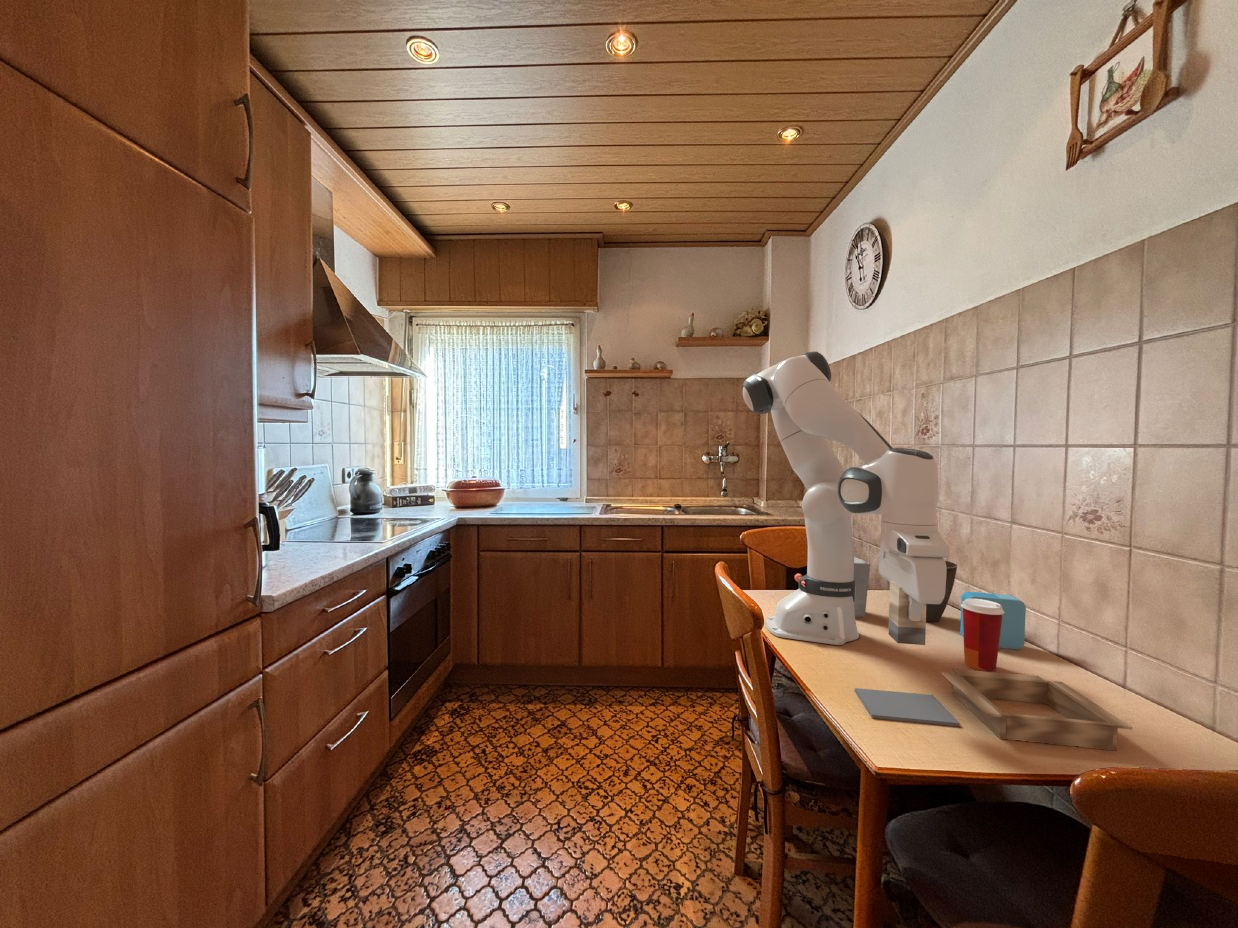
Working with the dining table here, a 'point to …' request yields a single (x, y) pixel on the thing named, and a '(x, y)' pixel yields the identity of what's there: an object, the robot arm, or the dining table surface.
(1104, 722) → the wooden frame
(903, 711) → the rubber mat
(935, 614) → the plant pot
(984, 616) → the paper cup
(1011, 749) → the dining table surface
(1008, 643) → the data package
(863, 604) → the skincare box
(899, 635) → the box
